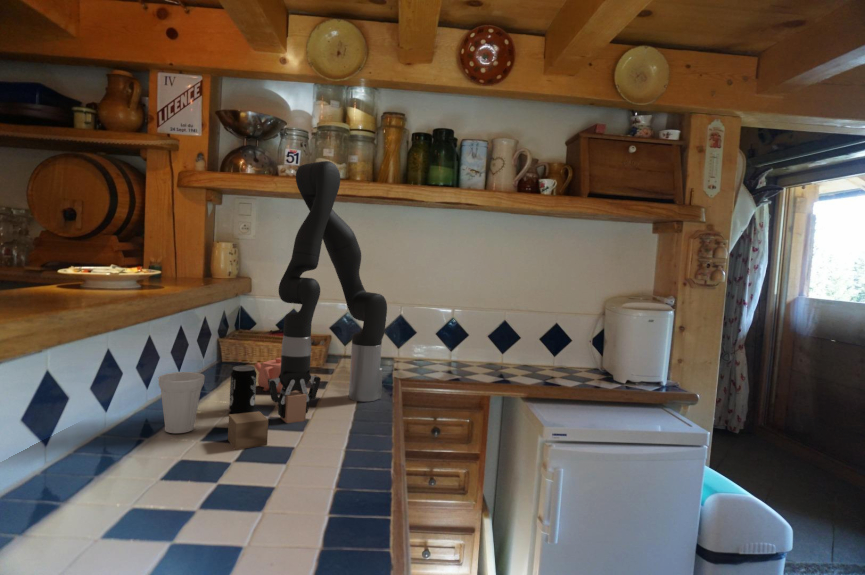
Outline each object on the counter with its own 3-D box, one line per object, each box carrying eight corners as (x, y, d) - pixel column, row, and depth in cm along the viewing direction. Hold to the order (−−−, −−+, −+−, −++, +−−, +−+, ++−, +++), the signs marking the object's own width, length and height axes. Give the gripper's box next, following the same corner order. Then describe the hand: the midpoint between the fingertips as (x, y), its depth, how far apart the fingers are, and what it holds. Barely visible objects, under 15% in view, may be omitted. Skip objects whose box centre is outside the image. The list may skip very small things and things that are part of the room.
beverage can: (246, 415, 138) (248, 371, 138) (224, 412, 139) (226, 368, 139) (259, 409, 145) (261, 366, 144) (237, 406, 146) (239, 364, 145)
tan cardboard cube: (298, 415, 141) (299, 390, 141) (305, 421, 137) (306, 394, 137) (280, 417, 139) (281, 391, 138) (286, 423, 134) (288, 396, 134)
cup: (193, 421, 131) (195, 370, 131) (209, 432, 124) (211, 378, 123) (150, 428, 124) (152, 374, 124) (164, 440, 117) (166, 383, 116)
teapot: (254, 394, 159) (256, 362, 158) (252, 385, 170) (254, 354, 169) (302, 393, 164) (304, 361, 163) (297, 384, 175) (299, 354, 174)
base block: (258, 436, 124) (259, 411, 124) (267, 445, 119) (268, 419, 118) (227, 440, 120) (228, 414, 120) (235, 450, 115) (236, 423, 114)
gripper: (316, 349, 144) (313, 409, 145) (264, 351, 136) (261, 415, 137) (327, 354, 138) (323, 417, 139) (273, 356, 130) (270, 423, 131)
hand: (292, 415), depth 138 cm, fingers closed on tan cardboard cube, 5 cm apart
